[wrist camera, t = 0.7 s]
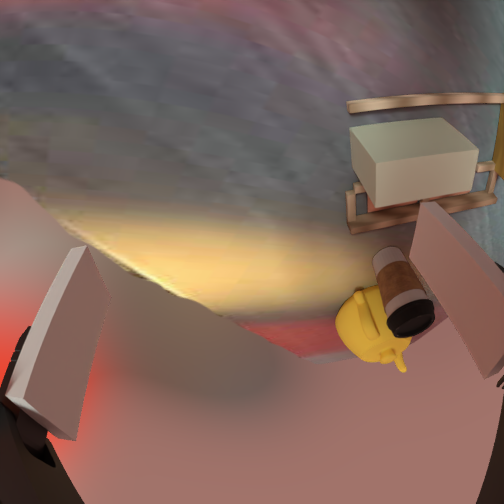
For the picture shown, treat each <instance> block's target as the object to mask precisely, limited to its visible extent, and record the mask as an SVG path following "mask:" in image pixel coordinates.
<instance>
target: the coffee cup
mask: <svg viewBox="0 0 504 504" xmlns="http://www.w3.org/2000/svg"><path fill="white" fill-rule="evenodd" d="M372 264H373V268H374V271H375V274H376V278H377V283H378V286H379V290H380V295H381V299H382V303H383V307H384V311H385V313H386V314H387V318H388V319H387V322H386V324H387V326H388V328H389V329H390V330H391V331H392V333H393V335H394V337H396V338H408V337H412V336H415V335H417V334H419V333H421V332H423V331H424V330H426V329H427V328H429V327H430V326H431V325H432V323H433V322H434V320H435V314H434V306H433V302H432V301H431V300H429V299H428V298H427V296H426V292H425V290H424V288H423V286H422V285H421V283H420V281H419V280H418V278H417V276H416V275H415V273H414V271H413V270H412V268H411V266H410V265H409V263H408V262H407V260H406V258H405V257H404V255H403V253H402V252H401V250H400V249H399V248H397V247H387V248H384V249H382V250H380V251H379V252H378V253H377V254H376V255H375V256H374V258H373V260H372Z"/></svg>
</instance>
